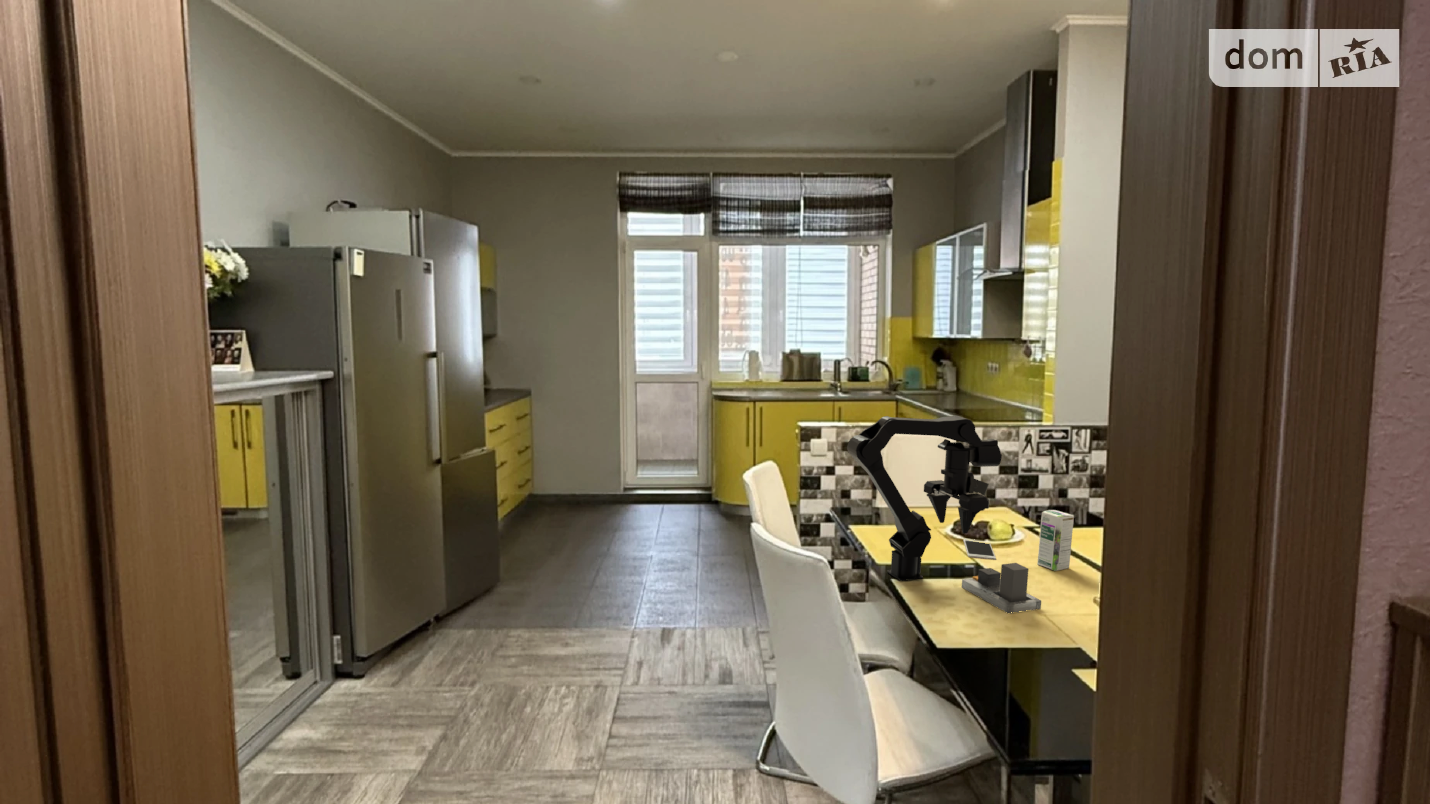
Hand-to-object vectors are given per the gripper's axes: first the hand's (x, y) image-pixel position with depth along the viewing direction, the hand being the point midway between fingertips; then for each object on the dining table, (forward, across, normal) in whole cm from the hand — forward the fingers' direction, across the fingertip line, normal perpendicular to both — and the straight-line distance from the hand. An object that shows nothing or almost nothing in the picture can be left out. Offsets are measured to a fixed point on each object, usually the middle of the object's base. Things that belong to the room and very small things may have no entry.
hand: (953, 527), depth 184 cm
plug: (+12, -20, -2) cm, 24 cm away
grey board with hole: (+12, -16, -1) cm, 20 cm away
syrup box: (+12, -3, -30) cm, 33 cm away
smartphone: (+13, +14, -20) cm, 28 cm away
